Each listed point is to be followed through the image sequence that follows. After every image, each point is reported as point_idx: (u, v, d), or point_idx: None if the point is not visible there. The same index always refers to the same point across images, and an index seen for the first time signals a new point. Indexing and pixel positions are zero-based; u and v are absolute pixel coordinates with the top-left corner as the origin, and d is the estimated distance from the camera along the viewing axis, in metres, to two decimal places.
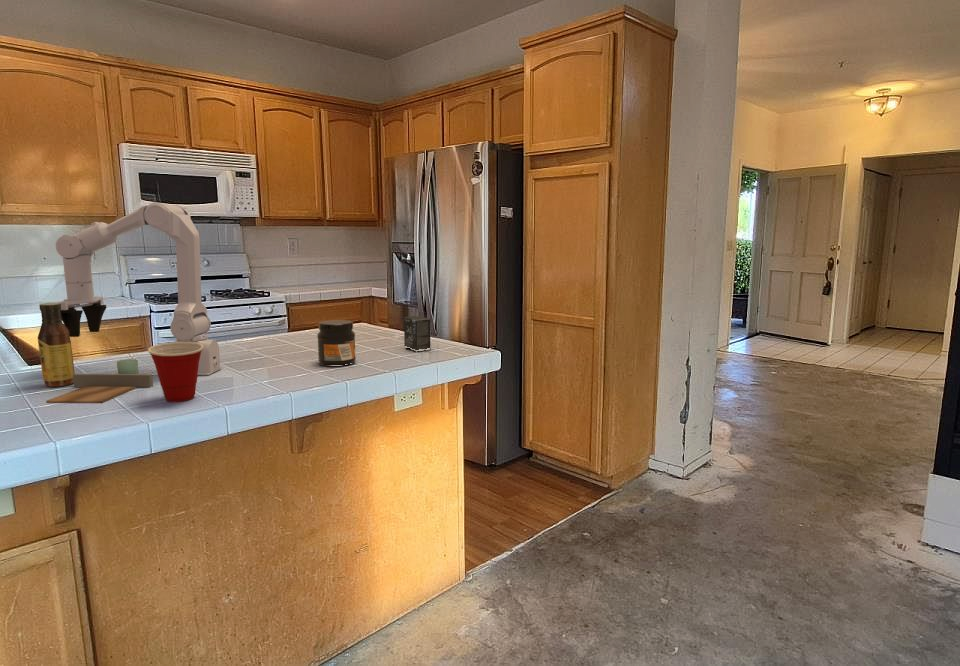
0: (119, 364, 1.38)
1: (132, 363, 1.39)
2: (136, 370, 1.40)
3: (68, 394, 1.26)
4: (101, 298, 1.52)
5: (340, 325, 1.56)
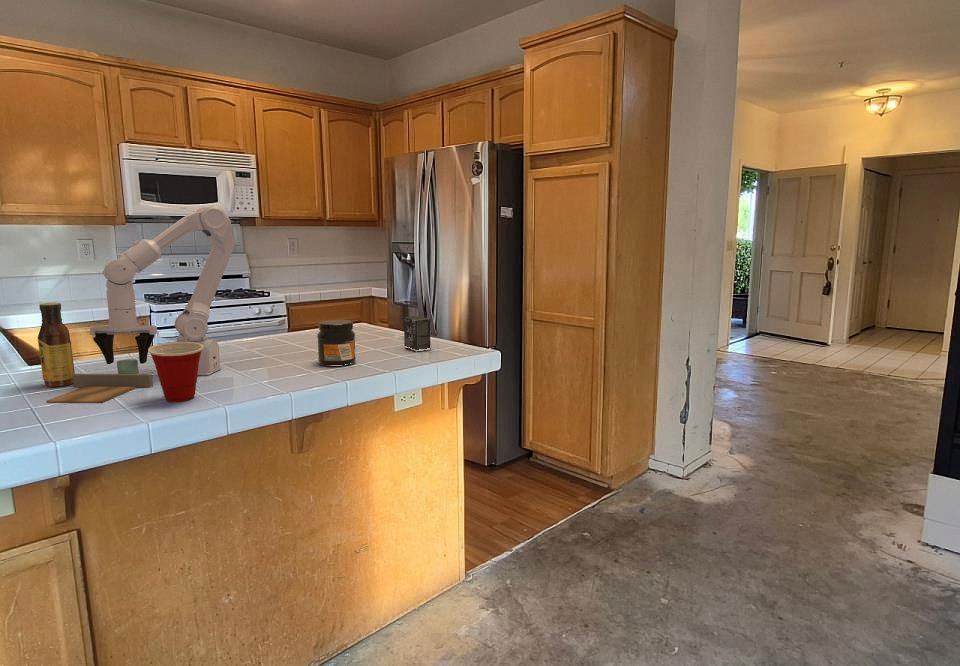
0: (119, 364, 1.38)
1: (132, 363, 1.39)
2: (136, 370, 1.40)
3: (68, 394, 1.26)
4: (149, 328, 1.38)
5: (340, 325, 1.56)
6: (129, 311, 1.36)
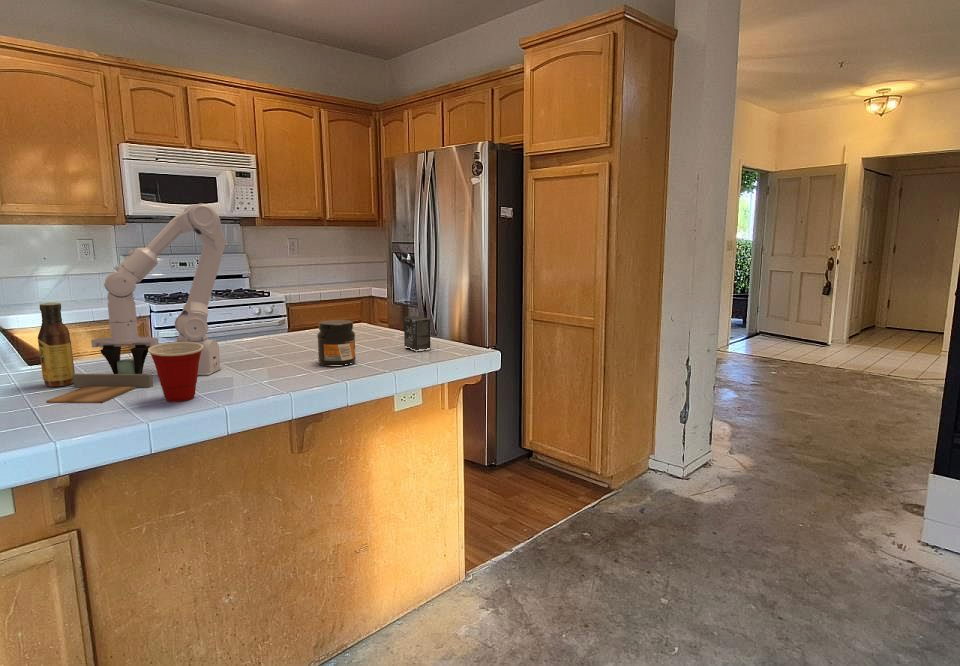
0: (119, 364, 1.38)
1: (132, 363, 1.39)
2: None
3: (68, 394, 1.26)
4: (150, 340, 1.39)
5: (340, 325, 1.56)
6: (130, 323, 1.37)
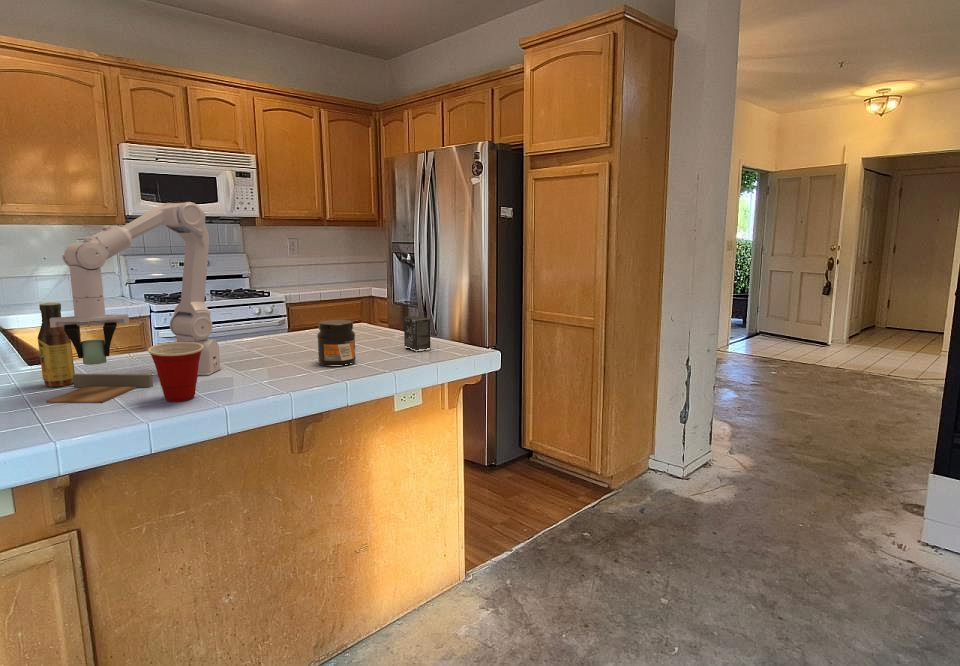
0: (87, 344, 1.25)
1: (101, 343, 1.27)
2: (104, 350, 1.28)
3: (68, 394, 1.26)
4: (123, 317, 1.29)
5: (340, 325, 1.56)
6: (100, 299, 1.25)
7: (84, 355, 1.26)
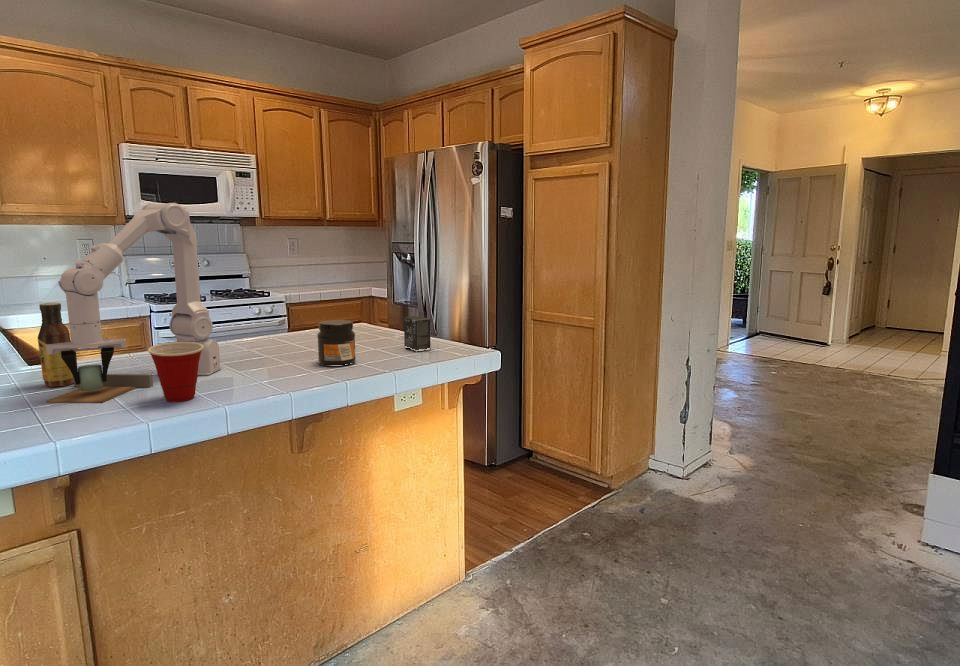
0: (84, 370, 1.24)
1: (99, 368, 1.26)
2: None
3: (68, 394, 1.26)
4: (121, 342, 1.28)
5: (340, 325, 1.56)
6: (97, 324, 1.24)
7: (81, 381, 1.25)
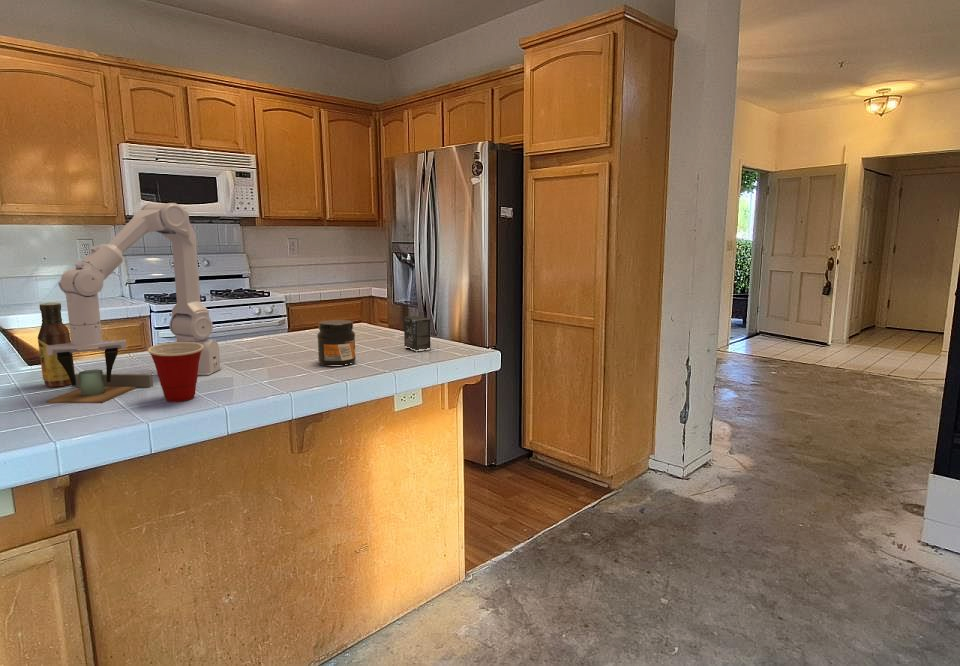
0: (85, 375, 1.24)
1: (99, 373, 1.26)
2: (103, 381, 1.27)
3: (68, 394, 1.26)
4: (121, 343, 1.28)
5: (340, 325, 1.56)
6: (98, 325, 1.24)
7: (82, 386, 1.25)
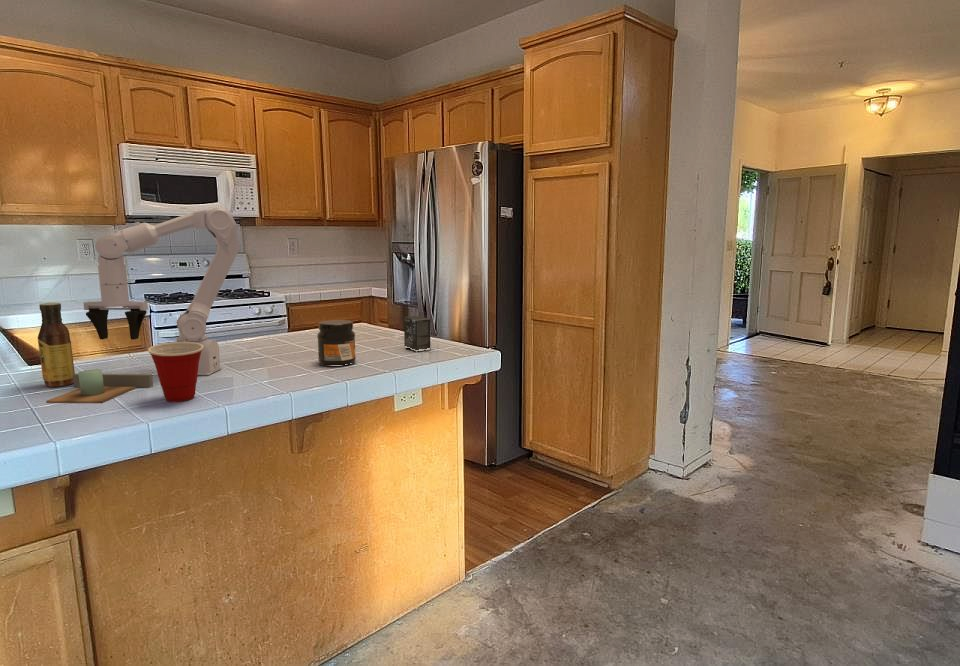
0: (84, 375, 1.24)
1: (99, 373, 1.26)
2: (102, 380, 1.27)
3: (68, 394, 1.26)
4: (139, 304, 1.37)
5: (340, 325, 1.56)
6: (119, 286, 1.36)
7: (82, 386, 1.25)
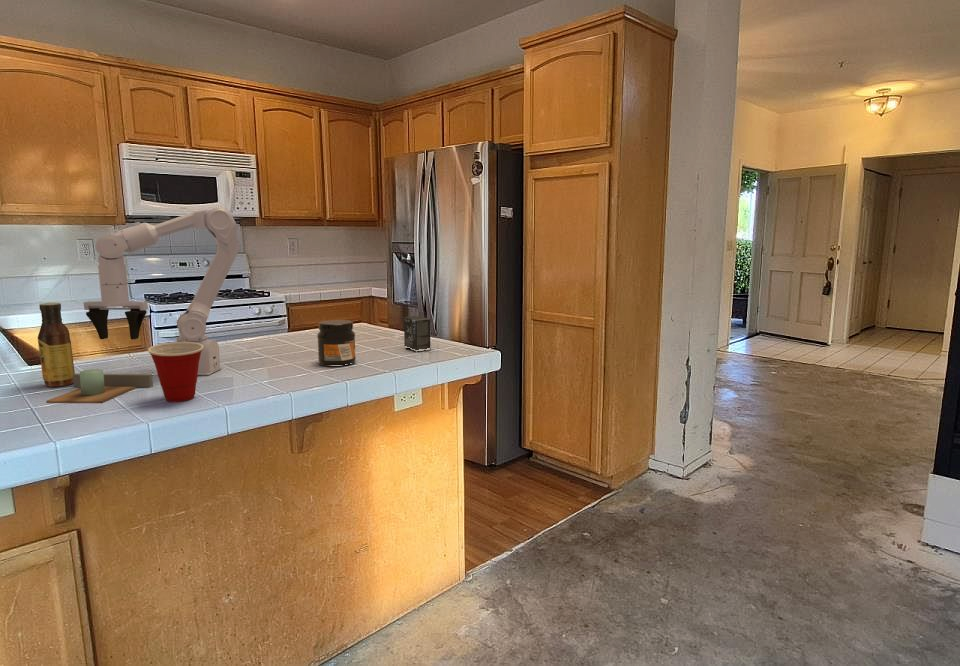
0: (85, 375, 1.24)
1: (100, 373, 1.26)
2: (103, 381, 1.27)
3: (68, 394, 1.26)
4: (139, 304, 1.37)
5: (340, 325, 1.56)
6: (119, 286, 1.36)
7: (82, 386, 1.25)
